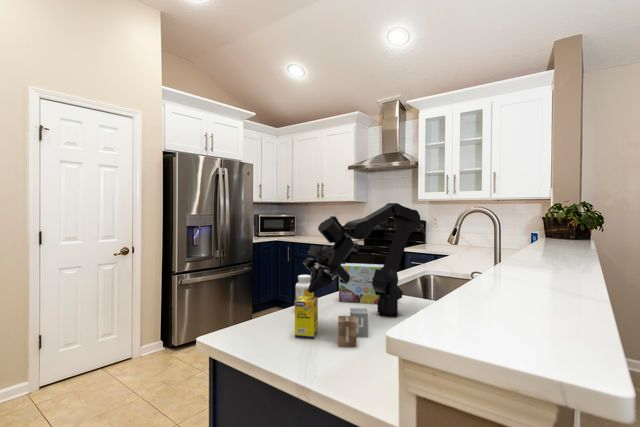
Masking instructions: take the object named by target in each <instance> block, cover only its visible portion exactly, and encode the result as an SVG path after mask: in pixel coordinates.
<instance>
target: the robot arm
mask: <svg viewBox="0 0 640 427" xmlns="http://www.w3.org/2000/svg"><path fill="white" fill-rule="evenodd" d="M391 218H392V219H394V225H395V226H394V227H395V233H394V236H393V239H392V241H391V244H390V246H389V249H388V253H387V254H386V259H385V261H384V264H383V265H384V266H383V267H382V268H381V269H380V270H379V269H376V271H375V274H374V277H373V278H372V280H373V282H372V286H373V289H374V291H375V294H376V295H379V299H378V304H377V313H378V315H377V316H381V317H393V318H398V316H399V310H398V309H399V306H398V305H399V300H400V299H402V298H403V295H404V291H403V290H402V289H401V288H400V287H399V286H398V285H399V284H398V283H399V277H398V269H399V266H400V264H401V260H402V257H403V254H404V253H405V249H406V245H407V243H408V240H409V237H410V235H411V234H412V233H414V231H415V230H416V229H417V227H418V226H419V224H420V221H421V214H420V213H419V211H418V210H416V209H412V208H409V207H406V206H403V205H402V204H400V203H398V202H388V203H386V204H385V205H384V206H382V207H381V208H379V209H377V210H375V211H373V212H371V213H370V214H368V215H366V216H365V217H362V218H356V219H353V220H349V221H347V222H345V224H344V225H343V224H341V223H340V221H339V219H338V218H337V217H336V216H335V215H330V216H329V218H327V219H325V220H324V221H322V222H321V223H319V225H318V228H317V230H318V232H319V233H320V235H322V236H323V238H325V240H326V241H327V242H328V243H329V244H333V245H332V246H331V247H330V246H328V245H323V246H322V247H321V246H319V245H313V244H311V245H310V247H309V250H308V253H307V255H308V256H311V257H313V258H311V257H306V258H305V259H304V261H303V262H302V264H303V265H304V266H305V267H306V269H308V270H309V272H311V274H312V276H311V280H310V285H309V288H308V292H309V293H312V292H314V293H315V292H316V291H317V290H320V289H322V288H323V287H326V286H327V285H330V284H334V283H335V281H334V280H335V278H336V277H338V278H339V277H340V278H341V279H340V282H341V283H343V284H346V285H347V283H348V282H349V280H350V275H349V274H348V273H347V271H346V270H345V269H344V268H343V267H342V266H341V264H345V263H347V260H346V259H347V257H348V256H349V254H350V253H351V252H352V251H353V252H359V250H360V249H359V244H358V242H355V241H354V240H358V241H362V240H365V239H366V238H367V237H368V236H369V235H370V234H371V233H372V230H373V229H374V228H376V227H377V226H379V225H381V224H382V223H384V222H386V221H388V220H389V219H391ZM315 258H316V259H315Z"/></svg>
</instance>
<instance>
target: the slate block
mask: <svg viewBox="0 0 640 427" xmlns="http://www.w3.org/2000/svg"><path fill="white" fill-rule="evenodd" d="M349 310H350V312H349V313H350V314H349V316H356V338H369V313H368V309H367V307H365V308H360V307H359V308H358V307H357V308H356V307H354V308H353V307H352V308H351V307H350V309H349Z"/></svg>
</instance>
